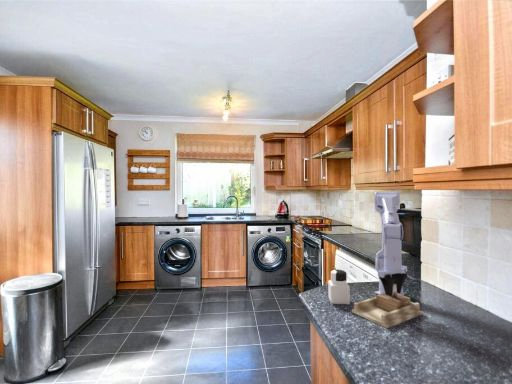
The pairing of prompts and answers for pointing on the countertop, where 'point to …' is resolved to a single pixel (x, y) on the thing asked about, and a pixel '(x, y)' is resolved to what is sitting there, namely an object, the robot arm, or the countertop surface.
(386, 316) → the bay
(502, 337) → the countertop surface
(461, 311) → the countertop surface
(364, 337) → the countertop surface
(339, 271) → the medicine bottle
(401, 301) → the block with knob
